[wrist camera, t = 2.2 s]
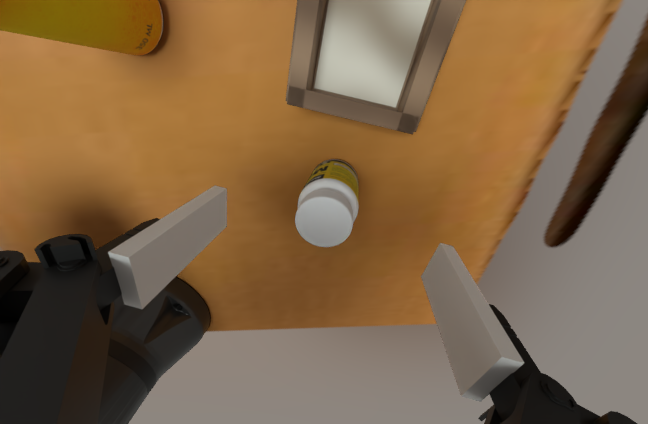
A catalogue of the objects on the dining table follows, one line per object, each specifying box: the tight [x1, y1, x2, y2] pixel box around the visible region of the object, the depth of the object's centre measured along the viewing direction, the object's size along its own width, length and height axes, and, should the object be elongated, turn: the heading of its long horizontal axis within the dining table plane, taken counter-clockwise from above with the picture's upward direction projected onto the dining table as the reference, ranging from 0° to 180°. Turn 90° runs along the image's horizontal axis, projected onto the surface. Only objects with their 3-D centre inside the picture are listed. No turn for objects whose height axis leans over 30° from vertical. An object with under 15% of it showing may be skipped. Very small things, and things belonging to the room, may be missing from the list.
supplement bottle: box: [295, 159, 359, 247], centre depth 19 cm, size 5×5×8 cm
